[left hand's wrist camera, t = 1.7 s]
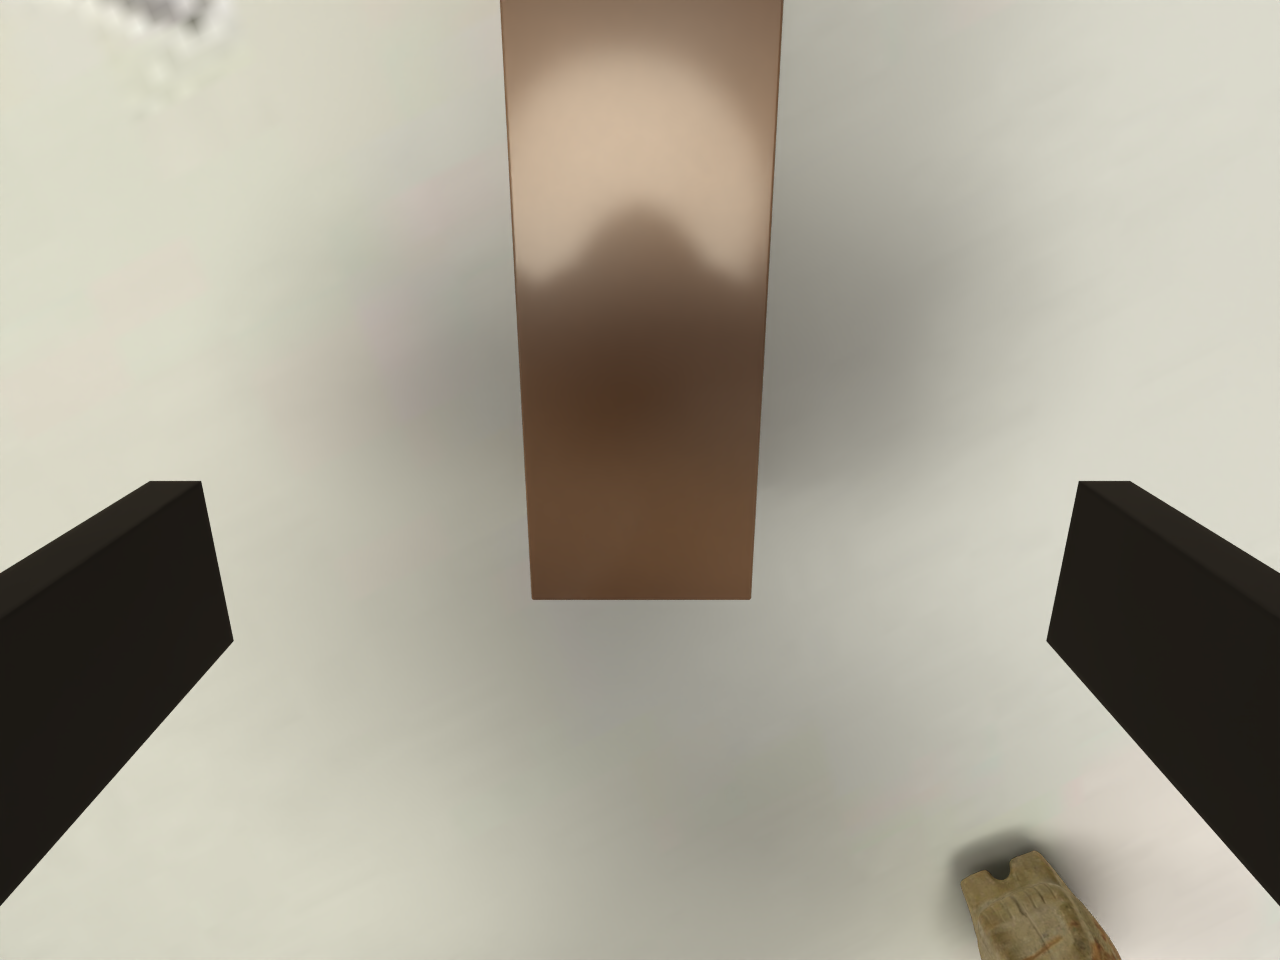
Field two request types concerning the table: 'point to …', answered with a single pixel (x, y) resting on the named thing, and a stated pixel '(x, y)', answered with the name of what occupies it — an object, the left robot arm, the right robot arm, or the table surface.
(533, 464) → the post
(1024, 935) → the sculpture
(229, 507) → the table surface
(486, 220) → the table surface
